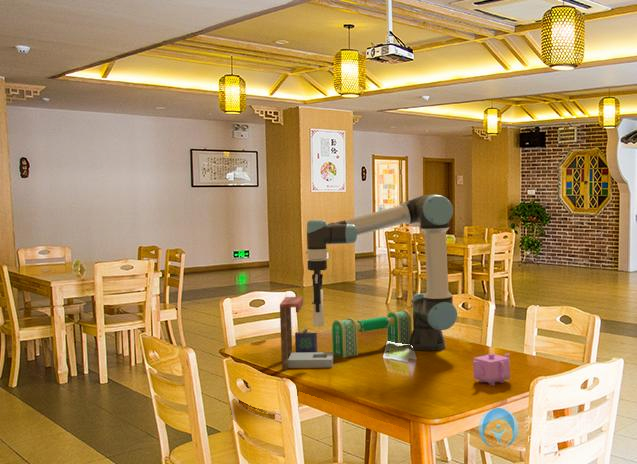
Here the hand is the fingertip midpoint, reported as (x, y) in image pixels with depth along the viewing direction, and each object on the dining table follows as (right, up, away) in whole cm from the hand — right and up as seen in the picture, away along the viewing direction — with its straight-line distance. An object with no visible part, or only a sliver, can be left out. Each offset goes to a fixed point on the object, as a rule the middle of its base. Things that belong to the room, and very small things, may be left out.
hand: (318, 319), depth 264 cm
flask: (-5, -17, +18) cm, 26 cm away
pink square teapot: (+60, -18, -30) cm, 69 cm away
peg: (0, -3, 0) cm, 3 cm away
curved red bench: (-10, -18, +2) cm, 20 cm away
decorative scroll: (+23, -16, +22) cm, 36 cm away
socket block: (-3, -18, +1) cm, 18 cm away
